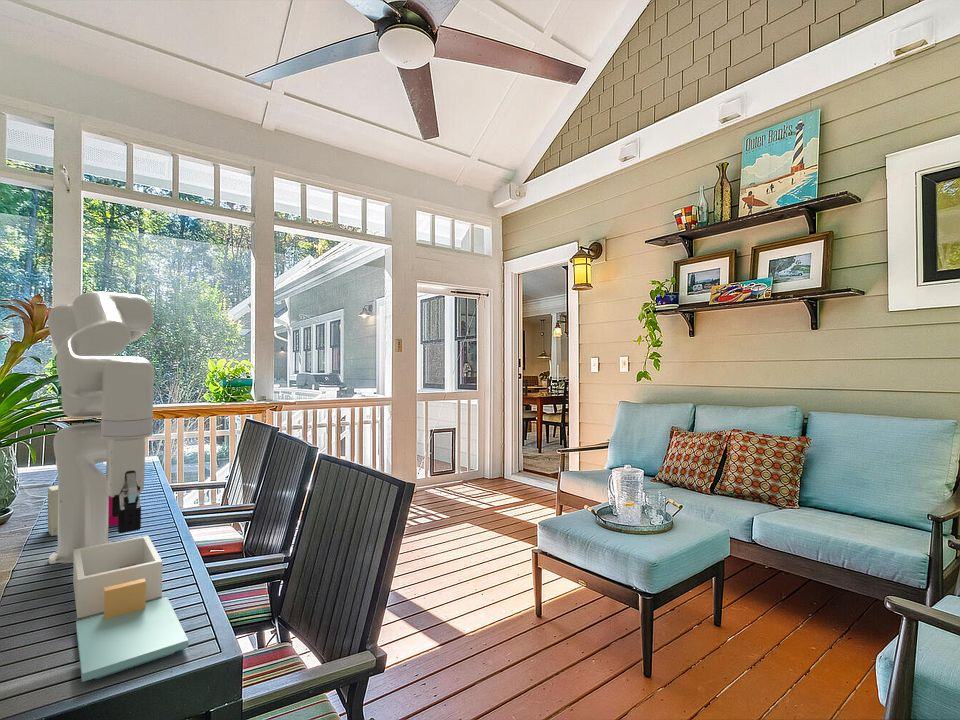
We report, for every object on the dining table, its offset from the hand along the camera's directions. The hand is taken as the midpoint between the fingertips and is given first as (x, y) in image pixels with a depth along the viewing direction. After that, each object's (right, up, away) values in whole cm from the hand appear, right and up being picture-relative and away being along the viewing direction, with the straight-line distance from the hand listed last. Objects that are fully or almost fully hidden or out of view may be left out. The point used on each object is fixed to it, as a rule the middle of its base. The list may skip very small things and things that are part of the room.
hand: (125, 522), depth 90 cm
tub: (-10, -18, +11) cm, 24 cm away
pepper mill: (-40, -18, +54) cm, 70 cm away
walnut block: (-11, -17, +16) cm, 26 cm away
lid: (+5, -19, -6) cm, 20 cm away
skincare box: (-50, -18, +45) cm, 70 cm away
